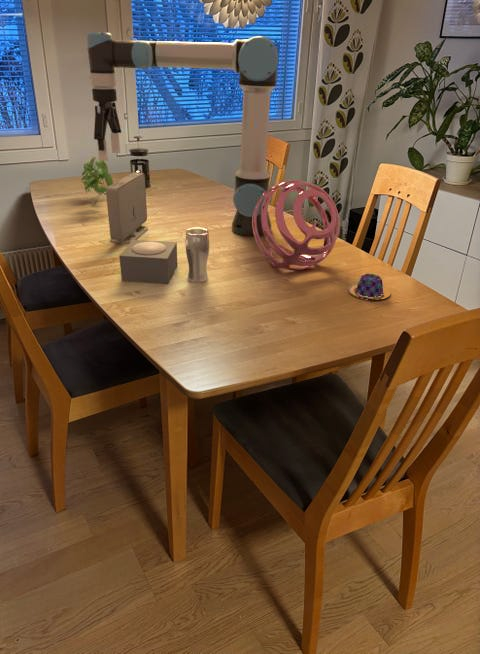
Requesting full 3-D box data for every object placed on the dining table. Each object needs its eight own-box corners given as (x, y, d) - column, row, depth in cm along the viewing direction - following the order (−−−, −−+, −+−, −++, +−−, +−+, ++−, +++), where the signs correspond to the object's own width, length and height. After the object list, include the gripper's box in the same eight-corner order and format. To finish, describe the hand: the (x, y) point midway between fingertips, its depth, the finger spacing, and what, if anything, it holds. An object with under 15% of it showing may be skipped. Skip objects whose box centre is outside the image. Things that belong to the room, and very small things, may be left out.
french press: (127, 184, 253) (123, 135, 242) (145, 182, 258) (142, 134, 246) (137, 189, 245) (134, 139, 233) (155, 187, 249) (153, 137, 238)
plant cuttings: (112, 207, 242) (69, 180, 230) (132, 177, 238) (89, 148, 226) (120, 230, 213) (71, 200, 201) (143, 196, 209) (95, 164, 197)
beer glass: (209, 274, 158) (209, 227, 151) (209, 283, 152) (209, 235, 145) (186, 274, 158) (185, 227, 151) (185, 283, 152) (184, 234, 145)
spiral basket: (236, 191, 170) (277, 156, 146) (307, 206, 182) (356, 176, 158) (235, 274, 166) (277, 252, 142) (308, 283, 178) (358, 264, 154)
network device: (127, 247, 177) (122, 189, 167) (103, 245, 178) (97, 187, 168) (153, 225, 199) (150, 172, 189) (131, 223, 200) (127, 171, 190)
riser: (177, 266, 163) (176, 240, 159) (168, 284, 151) (167, 257, 147) (134, 263, 164) (132, 238, 160) (121, 281, 152) (119, 254, 148)
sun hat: (370, 306, 143) (373, 289, 140) (339, 290, 151) (341, 274, 149) (398, 296, 149) (401, 279, 147) (367, 282, 158) (370, 266, 155)
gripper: (105, 84, 175) (110, 149, 185) (78, 90, 153) (86, 163, 164) (126, 85, 174) (131, 150, 185) (102, 91, 153) (109, 164, 163)
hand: (110, 156), depth 174 cm, fingers open, 13 cm apart
